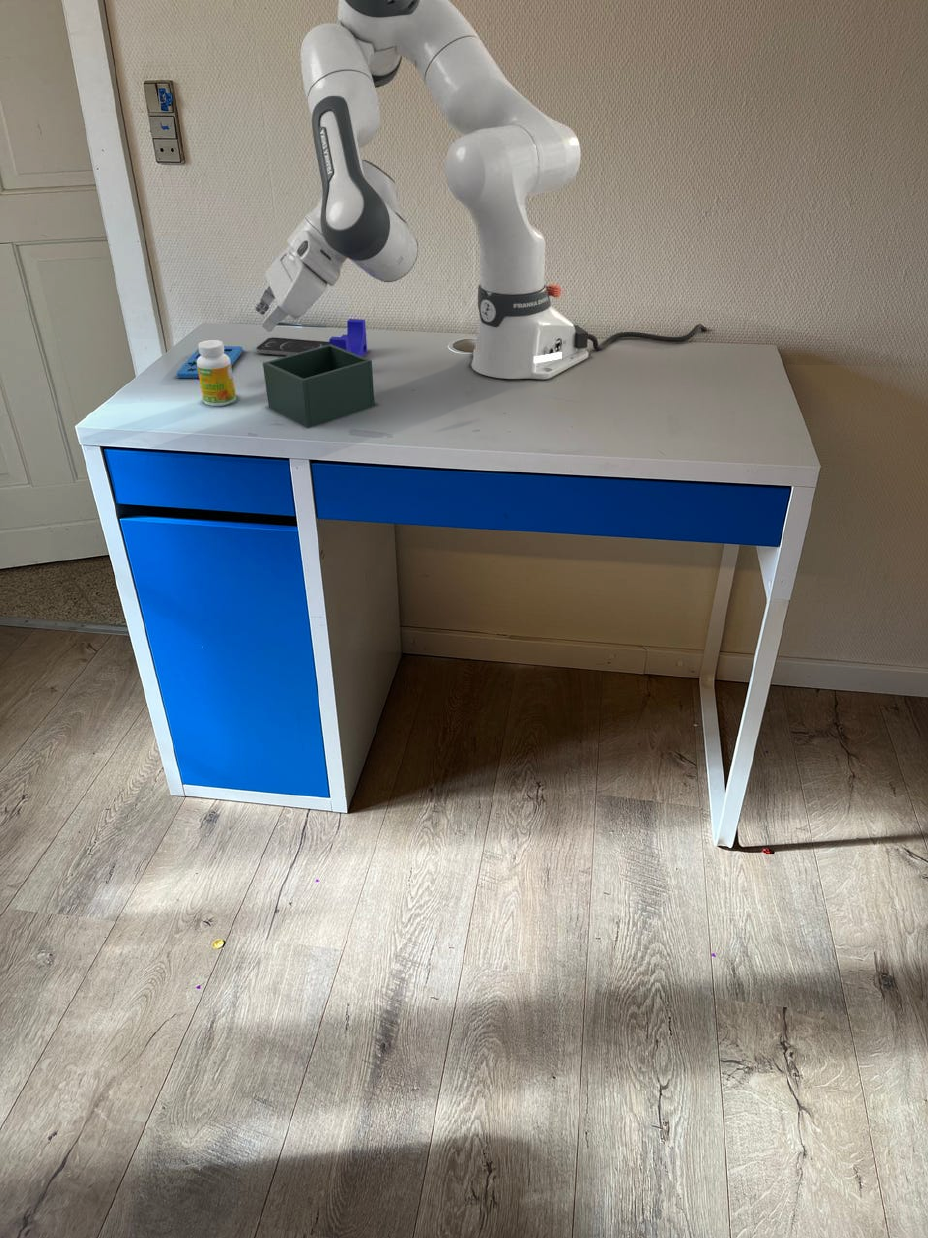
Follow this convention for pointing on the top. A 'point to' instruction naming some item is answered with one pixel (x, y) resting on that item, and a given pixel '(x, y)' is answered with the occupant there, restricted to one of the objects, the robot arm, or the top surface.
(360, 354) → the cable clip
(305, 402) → the bin
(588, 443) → the top surface
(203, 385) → the supplement bottle
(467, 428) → the top surface
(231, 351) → the handheld gaming device
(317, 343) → the smartphone
